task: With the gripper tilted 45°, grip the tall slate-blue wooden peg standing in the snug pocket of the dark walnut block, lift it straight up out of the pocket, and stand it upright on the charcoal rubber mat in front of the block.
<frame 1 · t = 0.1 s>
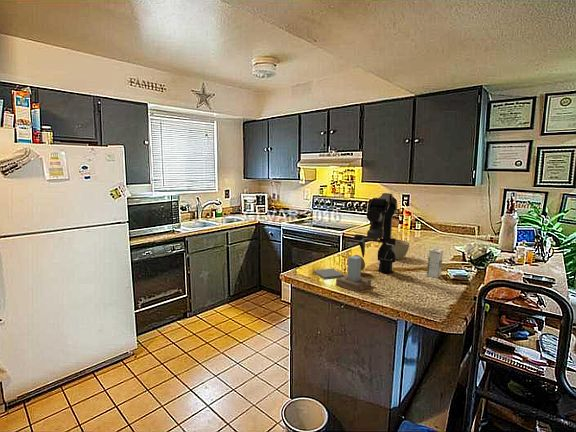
hand: (373, 258, 150), 15 cm above the counter, tool pointing down, fingers open, 9 cm apart
walnut pocket block: (353, 285, 159), on the counter
charcoal mat: (328, 274, 175), on the counter
planter bowl: (395, 258, 212), on the counter
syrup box: (433, 276, 176), on the counter
slate peg: (354, 271, 158), in the walnut pocket block
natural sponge: (355, 272, 179), on the counter
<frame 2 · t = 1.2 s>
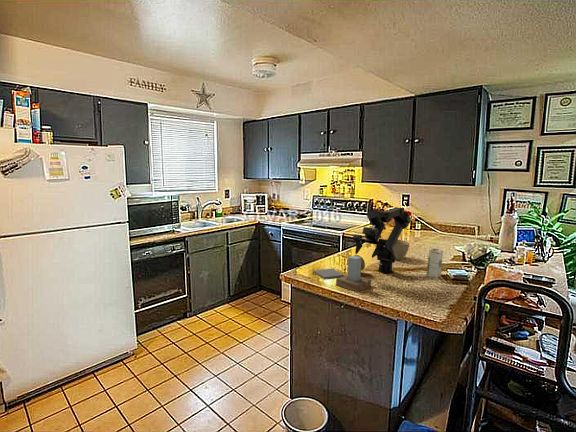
hand: (363, 255, 163), 14 cm above the counter, tool tilted 45°, fingers open, 9 cm apart
nothing on the counter moved.
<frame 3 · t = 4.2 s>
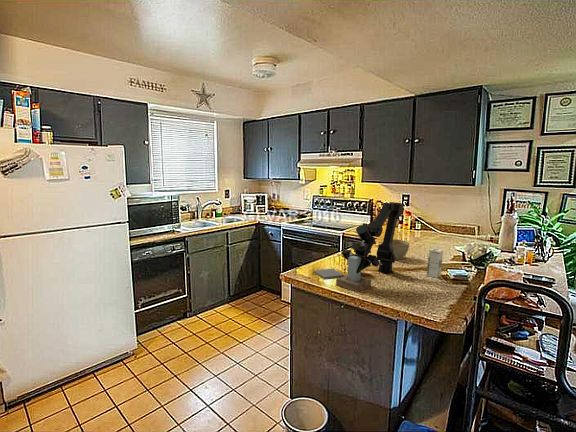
hand: (352, 271, 157), 7 cm above the counter, tool tilted 45°, fingers closed on slate peg, 4 cm apart
slate peg: (354, 271, 158), in the walnut pocket block, touching gripper
everything else where it was.
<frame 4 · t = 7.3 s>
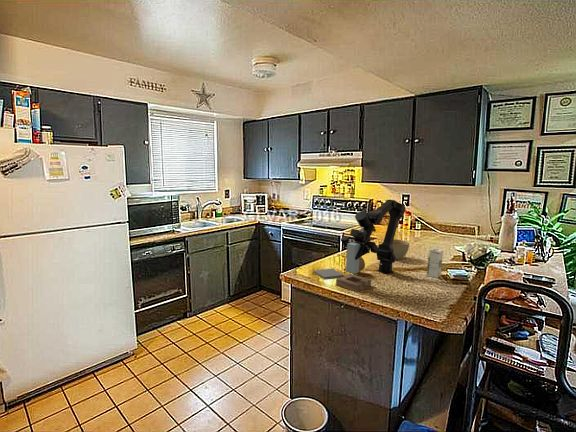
hand: (351, 258, 157), 14 cm above the counter, tool tilted 45°, fingers closed on slate peg, 4 cm apart
slate peg: (352, 258, 158), point 13 cm above the counter, touching gripper
everything else where it was.
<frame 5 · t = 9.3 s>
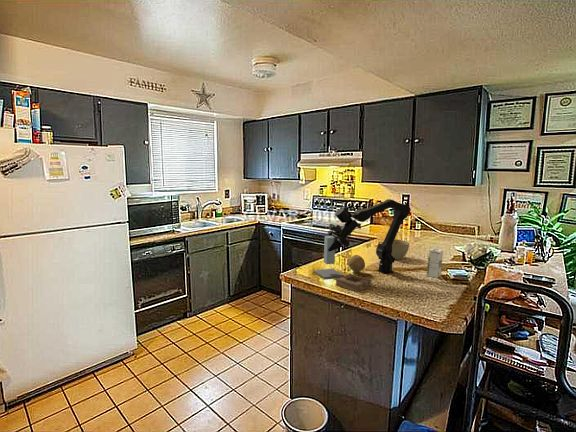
hand: (327, 249, 173), 13 cm above the counter, tool tilted 45°, fingers closed on slate peg, 4 cm apart
slate peg: (329, 250, 173), point 13 cm above the counter, touching gripper
everything else where it was.
when the fingers open (9 cm above the counter, at t = 10.7 s): slate peg drops 1 cm, resting on charcoal mat.
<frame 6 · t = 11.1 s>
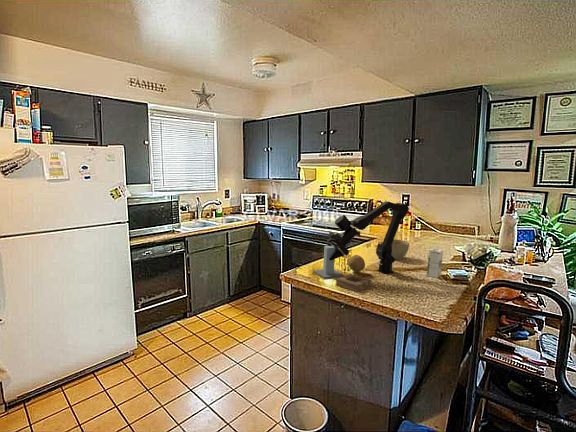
hand: (326, 257, 173), 9 cm above the counter, tool tilted 45°, fingers open, 9 cm apart
slate peg: (328, 259, 174), on the charcoal mat, point 8 cm above the counter
everything else where it was.
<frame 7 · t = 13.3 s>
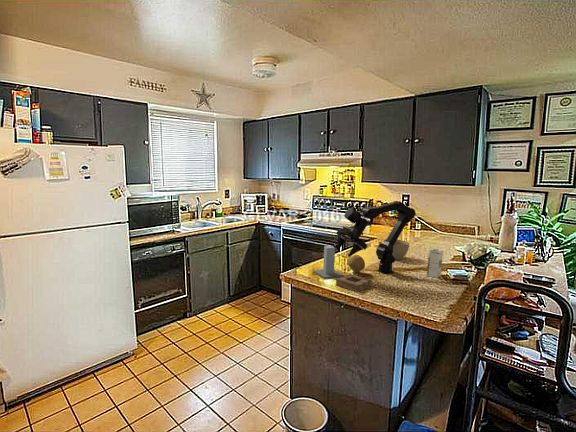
hand: (342, 252, 171), 12 cm above the counter, tool tilted 35°, fingers open, 9 cm apart
nothing on the counter moved.
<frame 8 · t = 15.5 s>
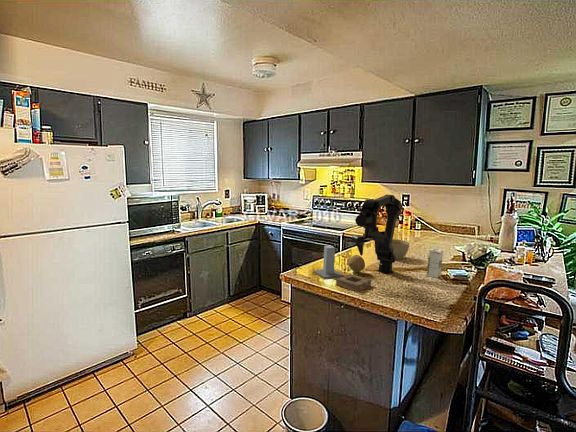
hand: (369, 254, 166), 13 cm above the counter, tool pointing down, fingers open, 9 cm apart
nothing on the counter moved.
at the end: slate peg inside the target area on the charcoal mat (0.0 cm from its centre), point 8.0 cm above the charcoal mat's base; slate peg tilted 0°; the gripper is holding nothing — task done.
